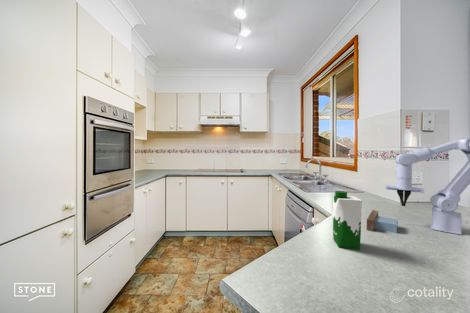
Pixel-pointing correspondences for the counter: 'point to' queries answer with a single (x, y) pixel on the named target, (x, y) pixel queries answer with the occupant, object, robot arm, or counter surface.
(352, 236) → the milk carton
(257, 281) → the counter surface
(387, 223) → the block
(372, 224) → the board
